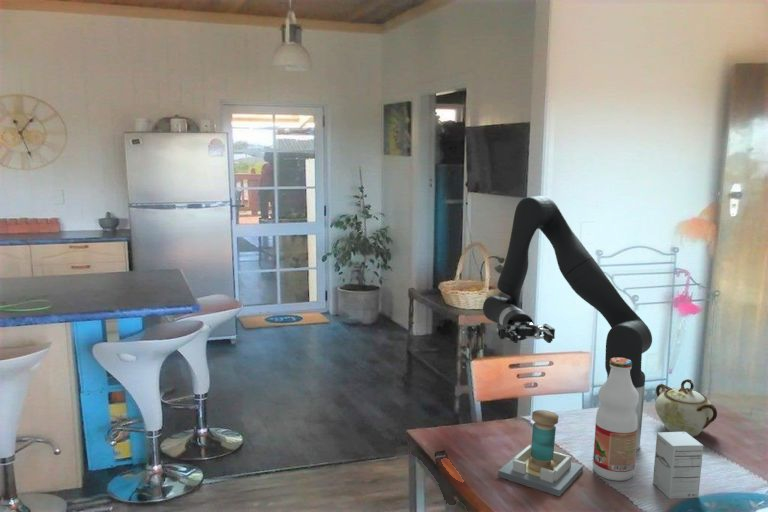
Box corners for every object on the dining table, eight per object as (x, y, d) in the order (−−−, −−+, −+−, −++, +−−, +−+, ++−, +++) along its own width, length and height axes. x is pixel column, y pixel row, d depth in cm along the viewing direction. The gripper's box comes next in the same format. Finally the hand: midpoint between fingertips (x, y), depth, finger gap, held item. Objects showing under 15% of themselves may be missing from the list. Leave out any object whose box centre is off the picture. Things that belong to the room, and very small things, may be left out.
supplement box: (651, 482, 151) (655, 431, 149) (681, 482, 152) (686, 430, 150) (667, 499, 144) (672, 445, 142) (699, 498, 144) (704, 444, 142)
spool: (533, 458, 158) (537, 408, 156) (557, 465, 155) (561, 414, 153) (524, 467, 153) (528, 415, 151) (549, 475, 150) (553, 422, 148)
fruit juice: (627, 486, 149) (636, 369, 145) (587, 474, 155) (594, 361, 151) (638, 470, 157) (647, 359, 153) (599, 459, 162) (606, 351, 158)
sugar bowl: (732, 440, 175) (738, 386, 173) (693, 449, 169) (698, 394, 167) (672, 413, 193) (676, 365, 191) (635, 421, 186) (639, 371, 184)
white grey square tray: (524, 454, 165) (525, 439, 164) (582, 471, 156) (583, 455, 156) (498, 476, 153) (498, 460, 152) (559, 496, 144) (560, 479, 144)
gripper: (490, 309, 176) (505, 324, 160) (542, 309, 177) (562, 324, 161) (489, 336, 177) (504, 353, 161) (540, 336, 178) (560, 353, 162)
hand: (533, 339), depth 161 cm, fingers open, 8 cm apart
